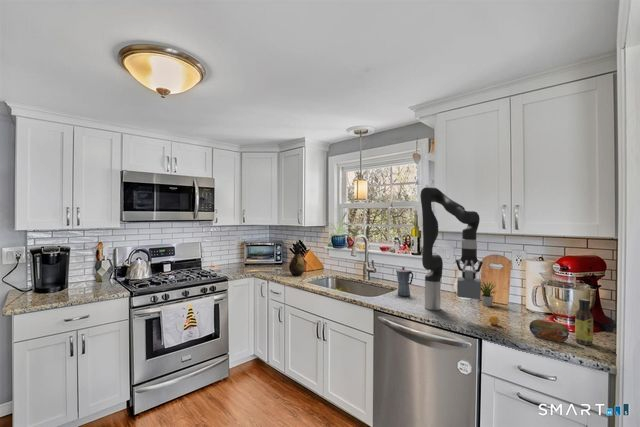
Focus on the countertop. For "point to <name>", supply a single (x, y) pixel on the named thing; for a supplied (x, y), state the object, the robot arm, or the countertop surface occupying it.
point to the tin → (549, 330)
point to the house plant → (487, 294)
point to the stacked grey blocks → (469, 286)
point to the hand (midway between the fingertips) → (468, 278)
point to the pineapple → (297, 262)
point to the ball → (493, 319)
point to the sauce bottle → (584, 323)
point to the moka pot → (404, 282)
